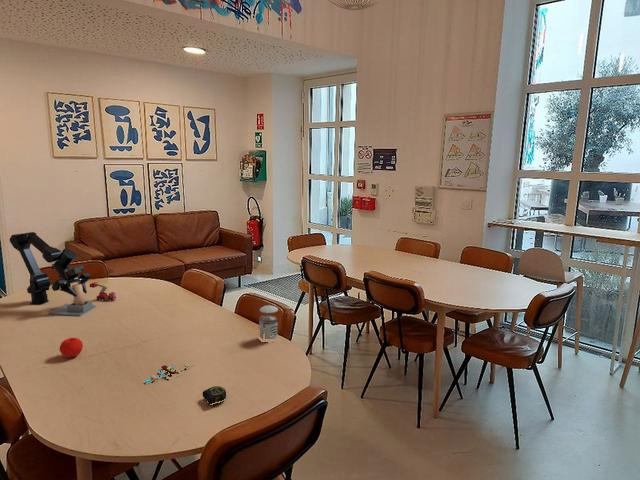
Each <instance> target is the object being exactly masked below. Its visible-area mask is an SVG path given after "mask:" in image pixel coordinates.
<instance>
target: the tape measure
mask: <svg viewBox="0 0 640 480" xmlns="http://www.w3.org/2000/svg"><path fill="white" fill-rule="evenodd" d="M202 397H203V399H204V400H206V402H207V401H208V402H207V403H208V404H209V406H211V405H210V404H212V403H215V402H219V401H222V400H224V399H225V400H226V398H227V390H226V389H225V388H224V387H223V386H221V385H220V386H219V385H216V386H211V387H209V388H207V389H205V390H203V391H202ZM225 400H224V401H225Z"/></svg>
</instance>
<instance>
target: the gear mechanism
mask: <svg viewBox="0 0 640 480" xmlns="http://www.w3.org/2000/svg"><path fill="white" fill-rule="evenodd" d="M183 365H184V366H185V367H187V368H188V367H190V364H189V363H183V364H182V366H183ZM171 367H172V368H171ZM174 367H175V366H174V362H172V364H171V366H170V367H169V366H167V365H166V364H164V365H162V366H161V369H162V370H158V371H157V373H158V372H160V371H163V370H165V371H167V372H169V373H170V374H175V373H176V371H175V370H174ZM190 368H191V367H190ZM160 374H162V375H158V376H156V375H155V374H152V375H150V379H147V380H144V381H143V382H145V383H147V382H150V381H152V380H154V381H155V380H158V381H159V379H158V378H160V377H159V376H165V377H169V376H167V375H165V374H166V373H165V374H164V373H162V372H160ZM176 374H177V373H176ZM176 374H175V375H176ZM154 381H153V382H154ZM145 383H144V384H145ZM150 383H151V382H150Z"/></svg>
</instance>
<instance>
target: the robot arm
mask: <svg viewBox="0 0 640 480" xmlns="http://www.w3.org/2000/svg"><path fill="white" fill-rule="evenodd" d="M37 234H38V233H36V232H34V231H29V232H24V233H16V234H15V233H14V234H12V235H11V236H10V238H9V243H10V244H11V246H12V247H13V249H15V250H17V251H18V252H19V254H20V256H21V259H22V260H23V262H24V264H25V267H26V268H27V271H28V273H29V276H30V278H29V281H28V282H29V284H30V285H28V287H27V289H26V291H27V294H30V297H31V298H30V299H31V302H29V304H30V305H44V304H46V303H47V302H49V301H50V300H49V299H48V294H47V291H49V290H50V287H51V289H52V291H53V292H56V291H60V292H61V291H62V292H64V293H66V294H68V295H71V296H72V297H74V296H75V297H76V296H77V295H76V293H75V291H74V290H73V289H72V285H71V284H74V283H77V284H82V288H83V294H87V293H88V291H87V285H86V283H87V282H88V281H89V280H90V278H91V277H92V275H91V274H90V273H89V272H85V273H83V271H85V268H84V266H83V265H81V264H78V265H77V266H76V267H70V266H69V265H71V264H72V263H73V262H74V260H75V259H76V257H77V254H76V252H74V250H71V249H69V248H63V250H60V249H58V248H57V247H53V246H50V245H49V244H48V243H47V242H46V241H44V240H43V239H42V238H41V237H40V236H39V235H37ZM31 245H32V246H33V247H34V248H35V249H37V251H39V252H40V253H41V254H42V258H43V259H44V260H45V262H47V263H52V264H51V270H55V271H56V272H57V274H58V276H57V277H58V278H59V279H56V280H55V282H54V283H53V284H52V285H51V281H50V280H51V279H50V278H49V276H48V274H47V273H43V272H42V271H41V268H40V267H39V265H38V263H37V260H36V258H35V256H34V253H33V251H32V249H31ZM79 274H80V275H79Z"/></svg>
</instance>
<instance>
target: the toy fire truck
mask: <svg viewBox="0 0 640 480" xmlns="http://www.w3.org/2000/svg"><path fill="white" fill-rule="evenodd" d="M97 287H100V288H101V290H100V291H99V293H98V295H97V296H96V297H95V298H96V300H97V301H100V302H101V301H103V302H104V301H109V302H115V301H116V300H117V293H115V292H114V291H111V292H109V293H107V292H106V290H107V289H108V288H109V287H108V286H107V285H104V284H101V283H99V282H98V281H96V282H95V281H94V282H92V283H89V288H94V289H95V288H97Z"/></svg>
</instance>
